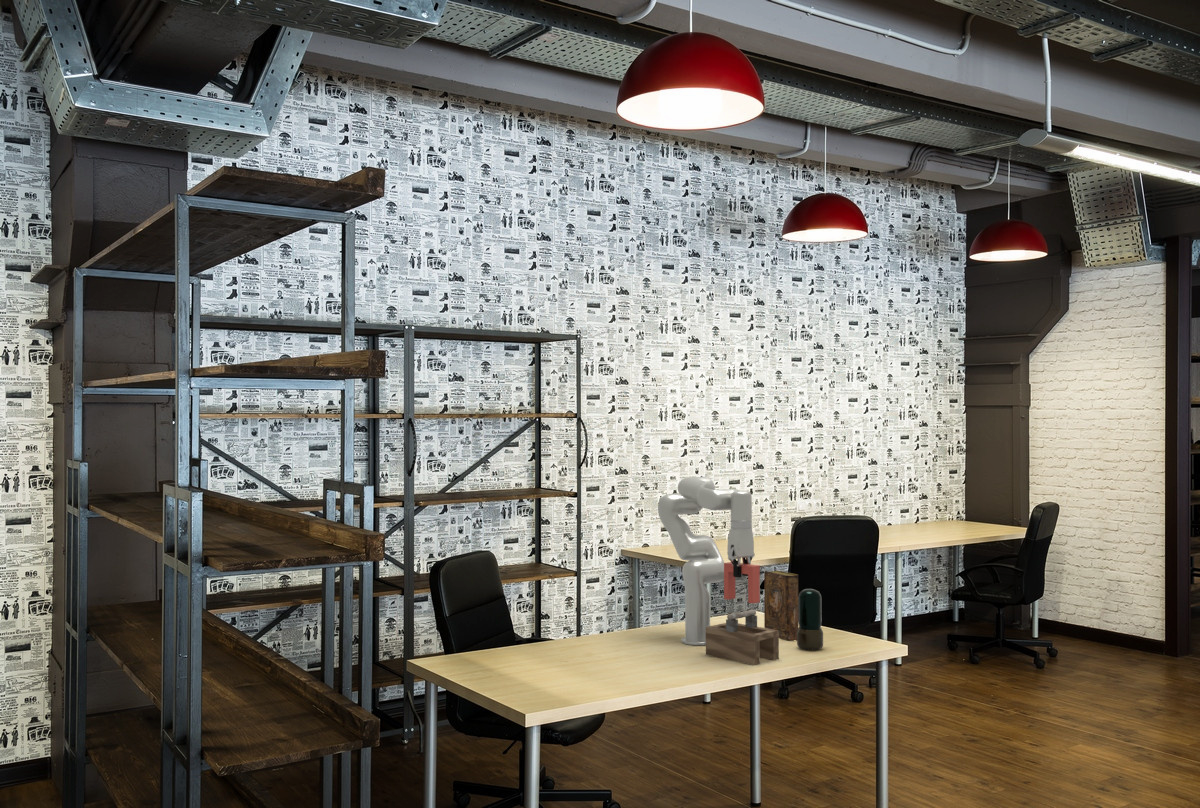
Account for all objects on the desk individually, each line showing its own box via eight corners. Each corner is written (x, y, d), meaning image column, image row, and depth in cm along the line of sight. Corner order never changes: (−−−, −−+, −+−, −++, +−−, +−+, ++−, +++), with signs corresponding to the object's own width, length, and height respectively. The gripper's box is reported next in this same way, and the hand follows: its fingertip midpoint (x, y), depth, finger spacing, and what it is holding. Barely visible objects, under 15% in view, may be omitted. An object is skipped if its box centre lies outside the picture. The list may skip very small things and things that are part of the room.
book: (800, 640, 386) (800, 575, 386) (788, 641, 383) (788, 576, 384) (775, 632, 400) (775, 569, 401) (764, 633, 398) (764, 570, 399)
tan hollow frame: (730, 648, 370) (730, 605, 370) (778, 658, 354) (778, 613, 354) (705, 654, 360) (705, 610, 361) (754, 665, 344) (754, 618, 345)
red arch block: (731, 597, 364) (731, 562, 364) (759, 602, 354) (759, 565, 355) (724, 599, 361) (723, 563, 361) (752, 603, 351) (752, 566, 352)
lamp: (823, 651, 365) (823, 591, 365) (796, 650, 367) (796, 590, 367) (823, 646, 374) (822, 587, 375) (797, 645, 376) (796, 586, 377)
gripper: (747, 523, 367) (747, 573, 366) (718, 526, 355) (718, 577, 355) (763, 524, 361) (764, 575, 361) (734, 527, 350) (734, 580, 349)
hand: (741, 575), depth 358 cm, fingers closed on red arch block, 4 cm apart
